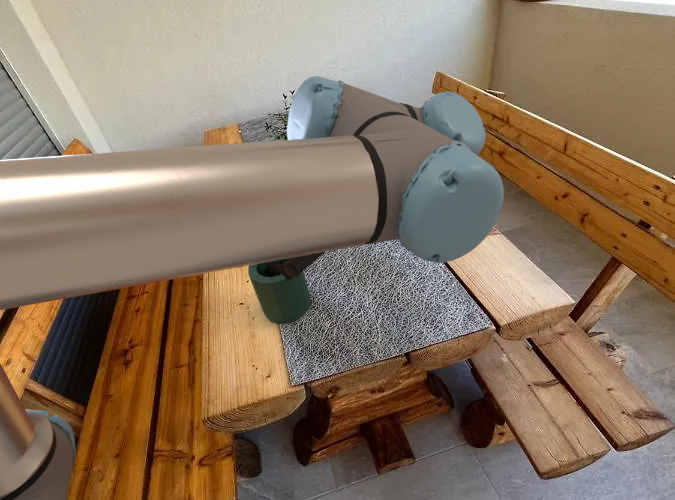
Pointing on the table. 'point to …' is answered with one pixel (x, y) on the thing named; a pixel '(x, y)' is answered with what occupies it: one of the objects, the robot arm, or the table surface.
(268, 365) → the table surface
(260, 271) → the green plastic cup
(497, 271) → the table surface
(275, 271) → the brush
